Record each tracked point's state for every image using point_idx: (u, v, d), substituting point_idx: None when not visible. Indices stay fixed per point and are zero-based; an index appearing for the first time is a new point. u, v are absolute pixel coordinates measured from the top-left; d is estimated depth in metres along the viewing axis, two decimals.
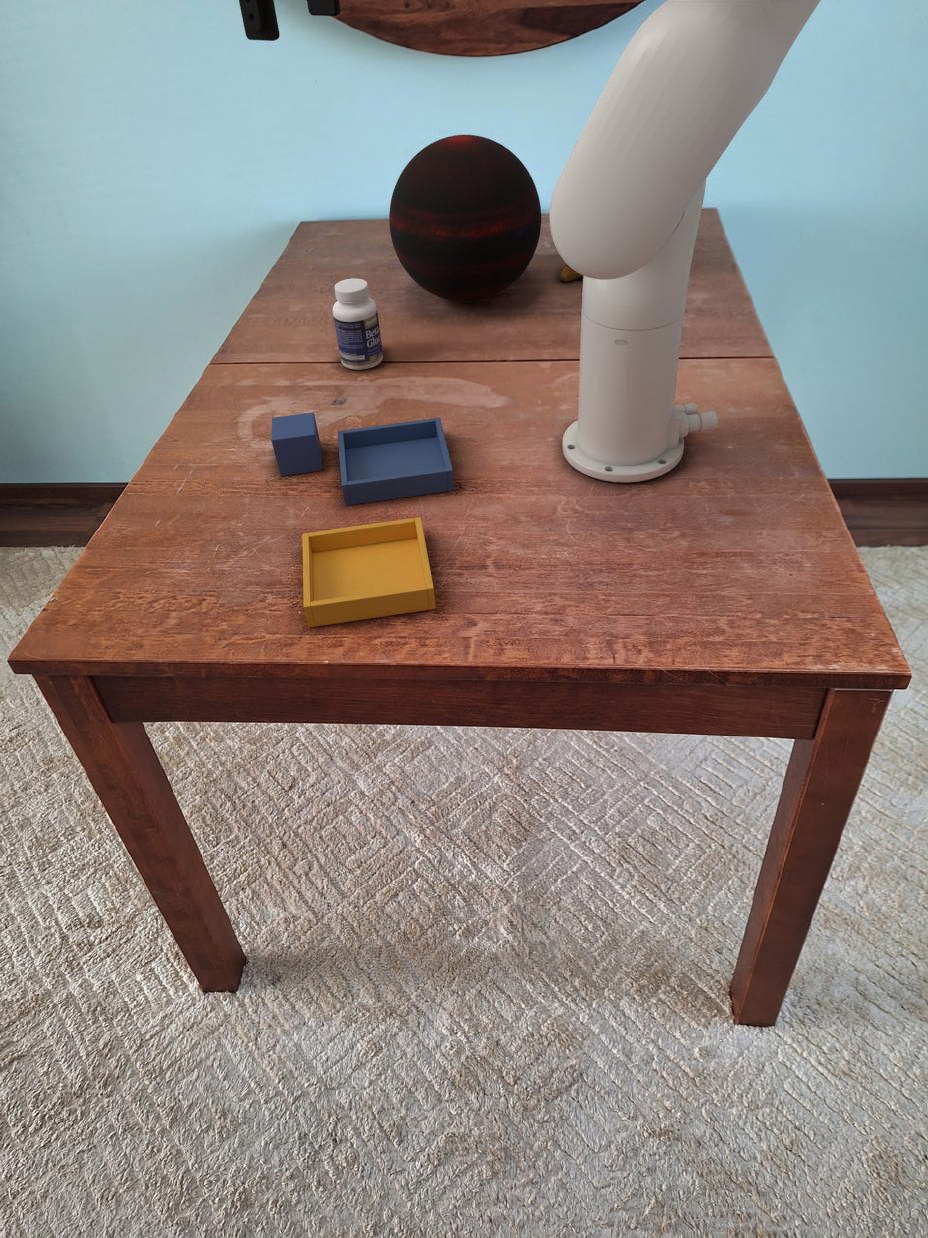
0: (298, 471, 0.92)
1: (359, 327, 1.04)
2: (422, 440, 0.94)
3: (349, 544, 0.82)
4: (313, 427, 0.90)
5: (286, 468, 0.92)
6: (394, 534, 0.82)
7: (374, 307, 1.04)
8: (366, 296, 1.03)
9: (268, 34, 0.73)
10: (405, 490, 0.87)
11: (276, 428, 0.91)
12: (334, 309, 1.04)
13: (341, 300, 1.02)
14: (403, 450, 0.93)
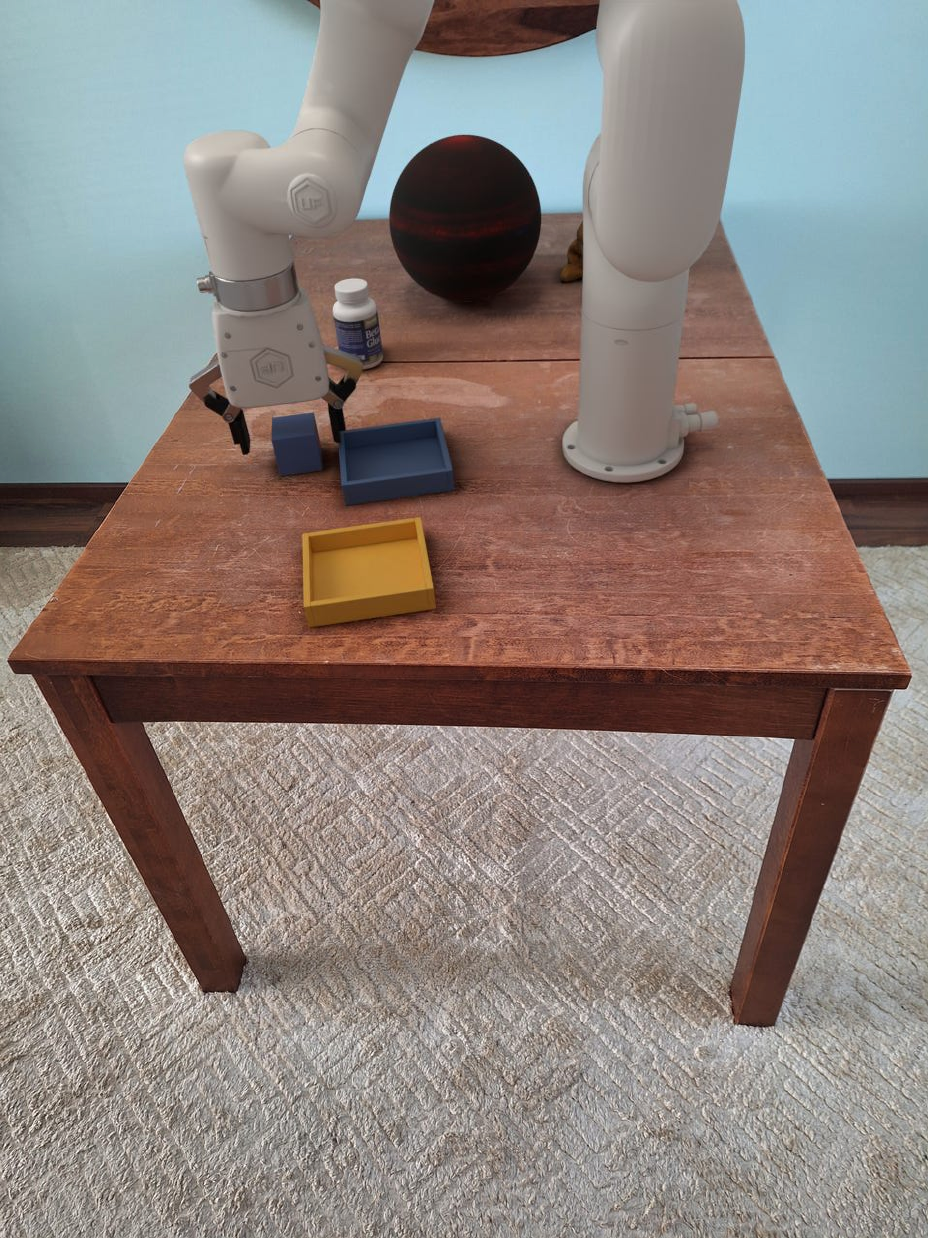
0: (298, 471, 0.92)
1: (359, 327, 1.04)
2: (422, 440, 0.94)
3: (349, 544, 0.82)
4: (313, 427, 0.90)
5: (286, 468, 0.92)
6: (394, 534, 0.82)
7: (374, 307, 1.04)
8: (366, 296, 1.03)
9: None
10: (405, 490, 0.87)
11: (276, 428, 0.91)
12: (334, 309, 1.04)
13: (341, 300, 1.02)
14: (403, 450, 0.93)
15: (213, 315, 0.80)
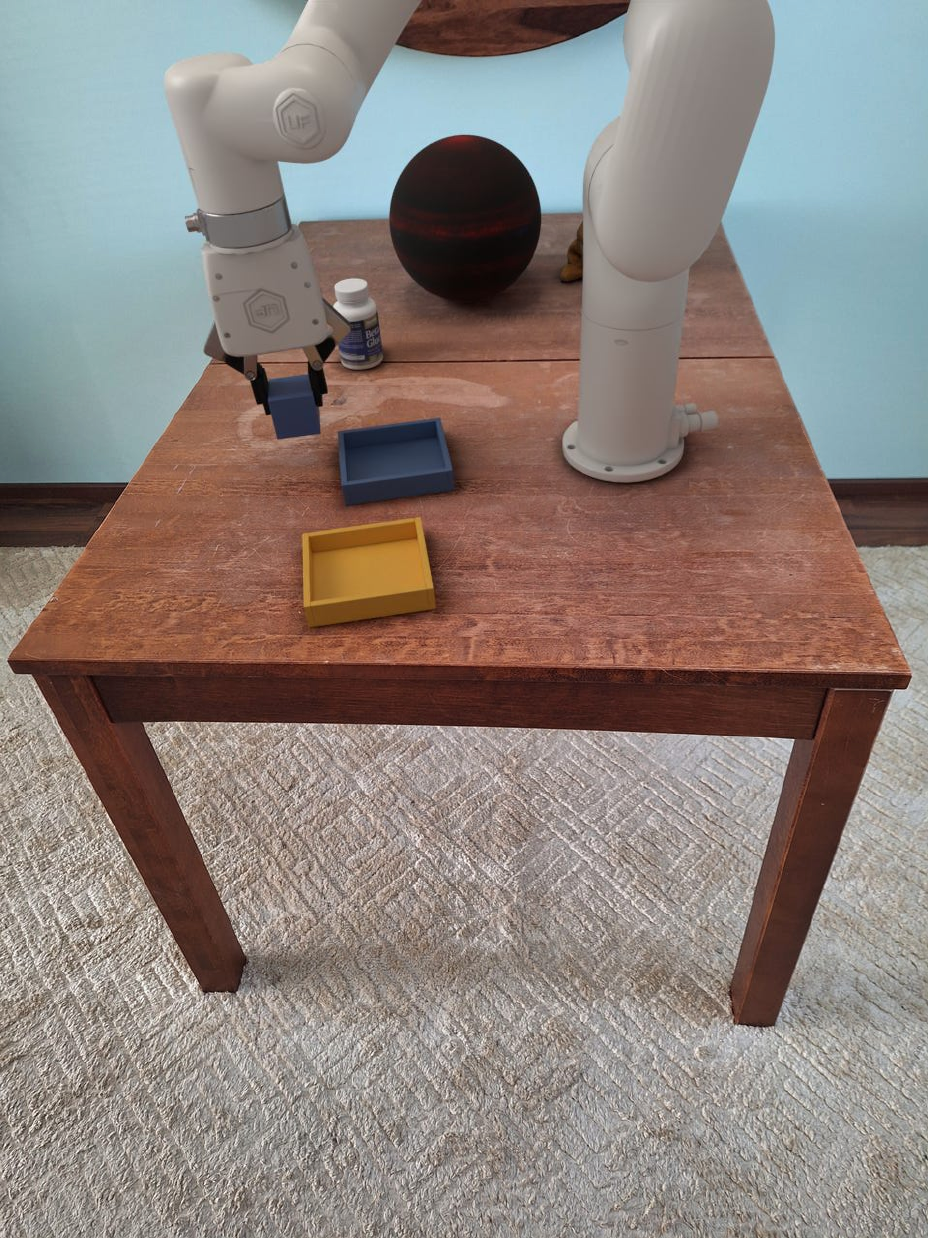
0: (295, 434, 0.89)
1: (359, 327, 1.04)
2: (422, 440, 0.94)
3: (349, 544, 0.82)
4: None
5: (283, 431, 0.88)
6: (394, 534, 0.82)
7: (374, 307, 1.04)
8: (366, 296, 1.03)
9: None
10: (405, 490, 0.87)
11: (272, 389, 0.87)
12: None
13: (341, 300, 1.02)
14: (403, 450, 0.93)
15: (203, 255, 0.76)
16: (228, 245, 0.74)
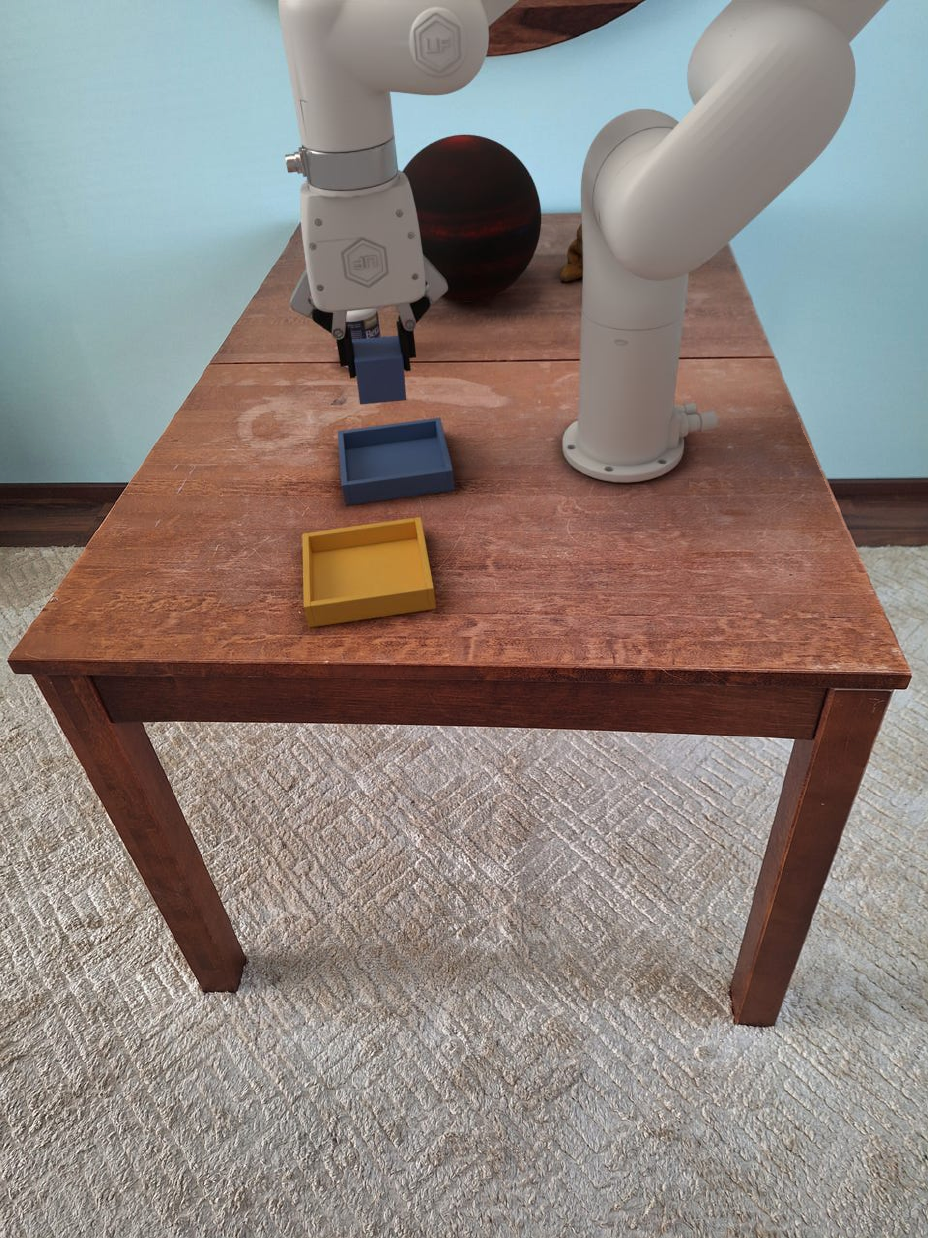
0: (380, 400, 0.83)
1: (359, 327, 1.04)
2: (422, 440, 0.94)
3: (349, 544, 0.82)
4: (400, 350, 0.81)
5: (367, 396, 0.83)
6: (394, 534, 0.82)
7: None
8: None
9: None
10: (405, 490, 0.87)
11: (358, 350, 0.82)
12: None
13: None
14: (403, 450, 0.93)
15: (302, 198, 0.70)
16: (333, 187, 0.69)
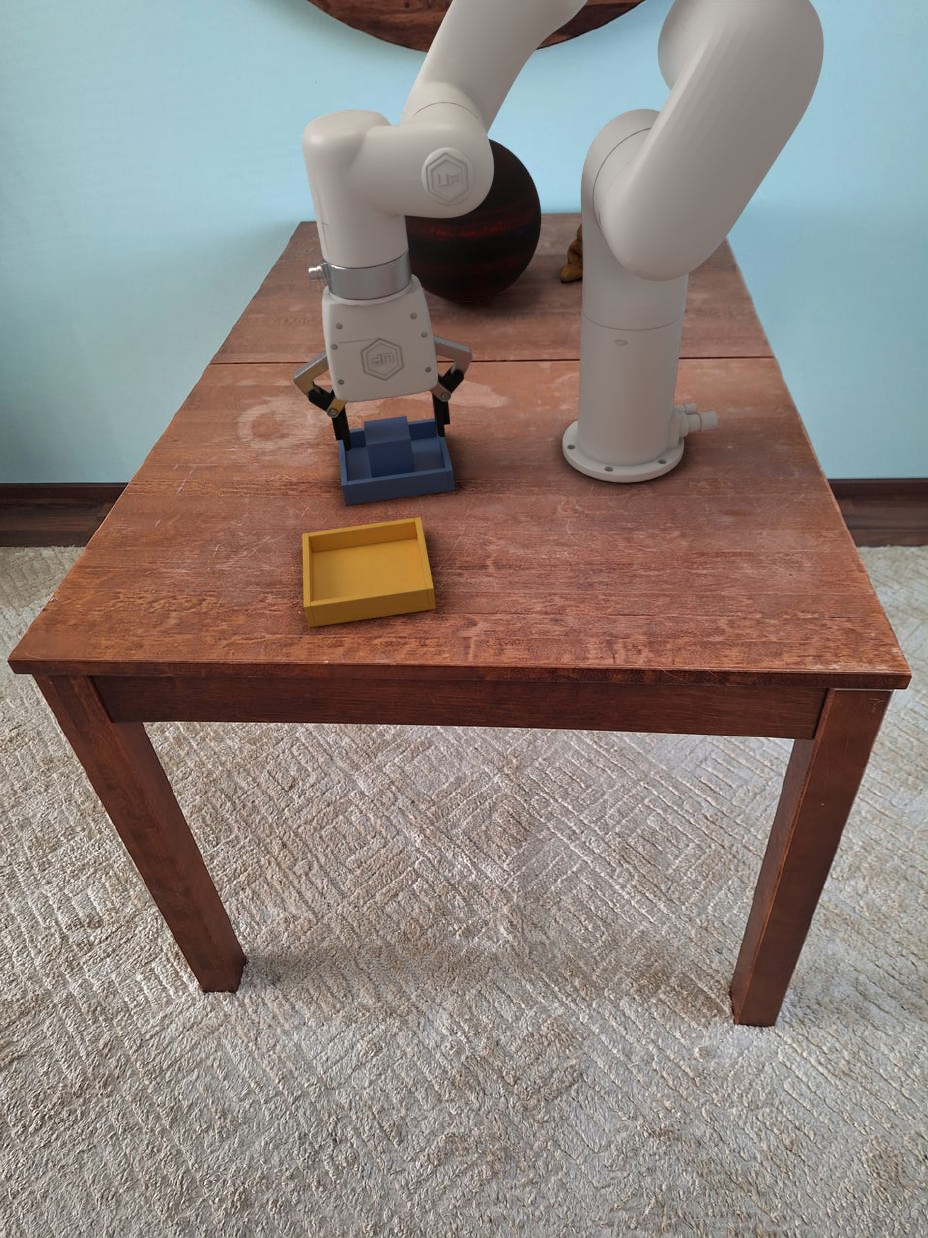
0: None
1: None
2: (422, 440, 0.94)
3: (349, 544, 0.82)
4: (408, 431, 0.88)
5: (379, 473, 0.89)
6: (394, 534, 0.82)
7: None
8: None
9: None
10: (405, 490, 0.87)
11: (369, 432, 0.88)
12: None
13: None
14: None
15: (324, 305, 0.77)
16: (353, 297, 0.75)
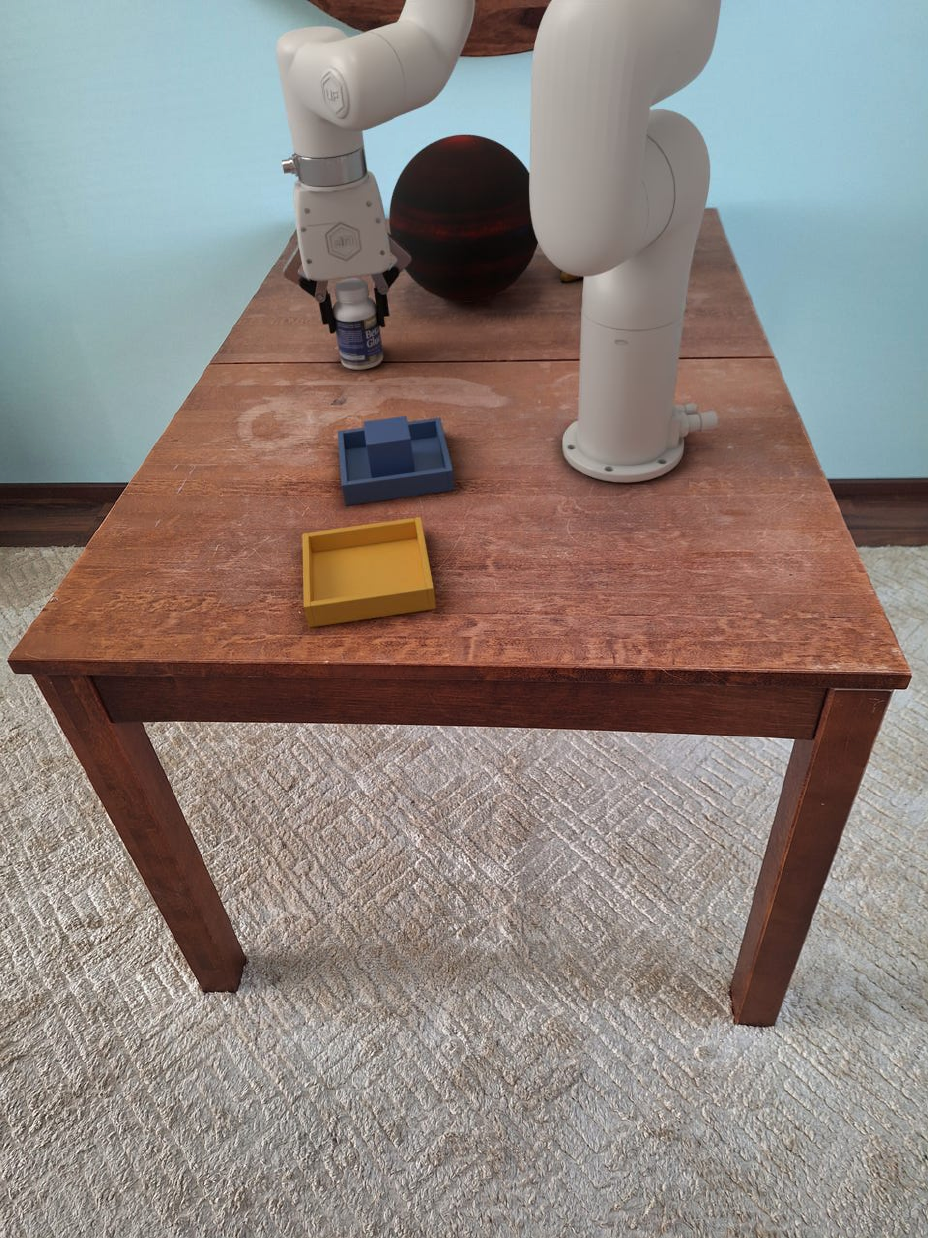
0: None
1: (359, 327, 1.04)
2: (422, 440, 0.94)
3: (349, 544, 0.82)
4: (408, 431, 0.88)
5: (379, 473, 0.89)
6: (394, 534, 0.82)
7: (374, 307, 1.04)
8: (366, 296, 1.03)
9: None
10: (405, 490, 0.87)
11: (369, 432, 0.88)
12: (334, 309, 1.04)
13: (341, 300, 1.02)
14: None
15: (295, 192, 0.93)
16: (318, 184, 0.91)
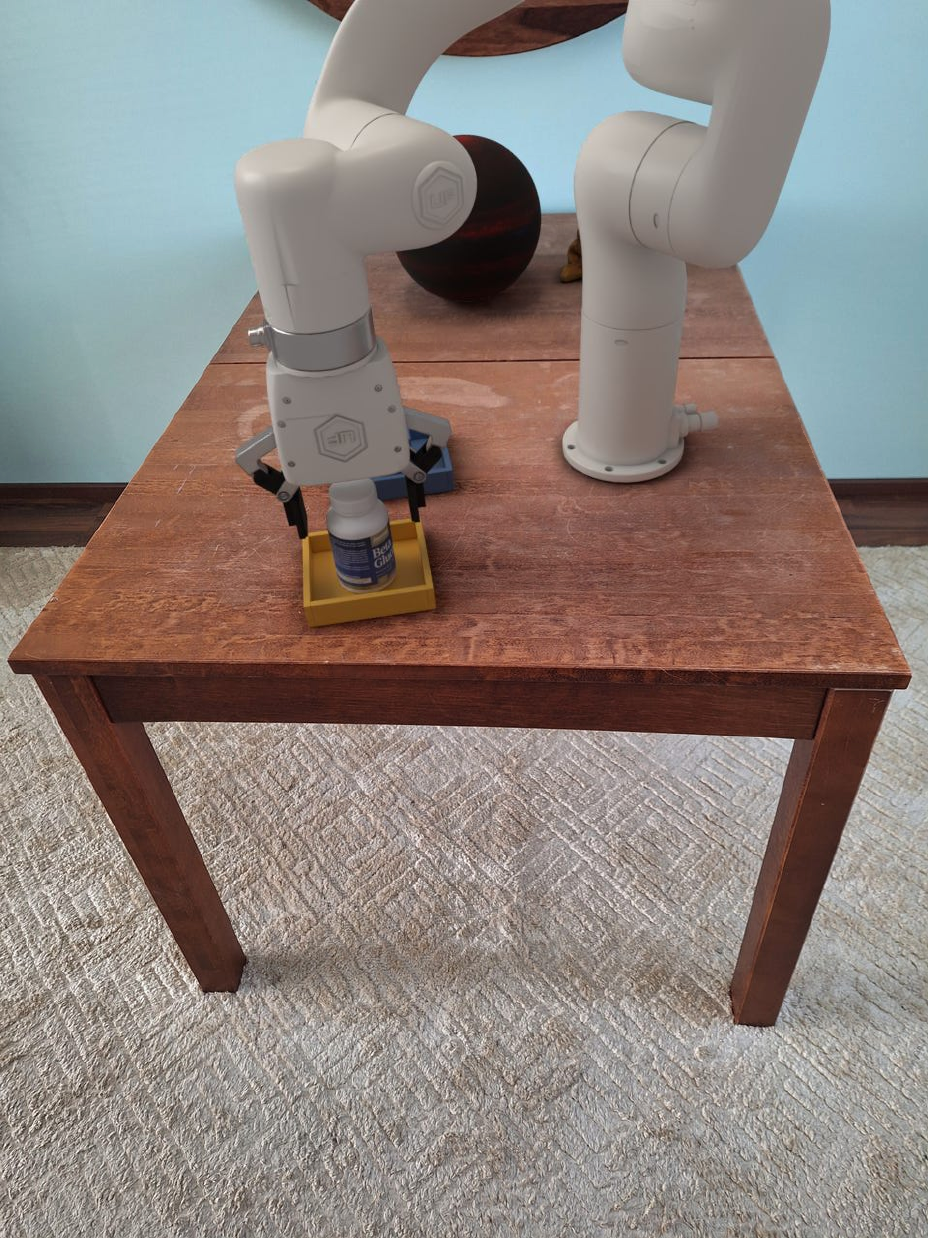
0: None
1: (363, 546, 0.73)
2: (422, 440, 0.94)
3: None
4: (408, 431, 0.88)
5: None
6: (394, 534, 0.82)
7: (385, 517, 0.73)
8: (374, 505, 0.72)
9: None
10: (405, 490, 0.87)
11: None
12: (328, 520, 0.73)
13: (338, 512, 0.72)
14: None
15: (268, 375, 0.62)
16: (302, 367, 0.61)
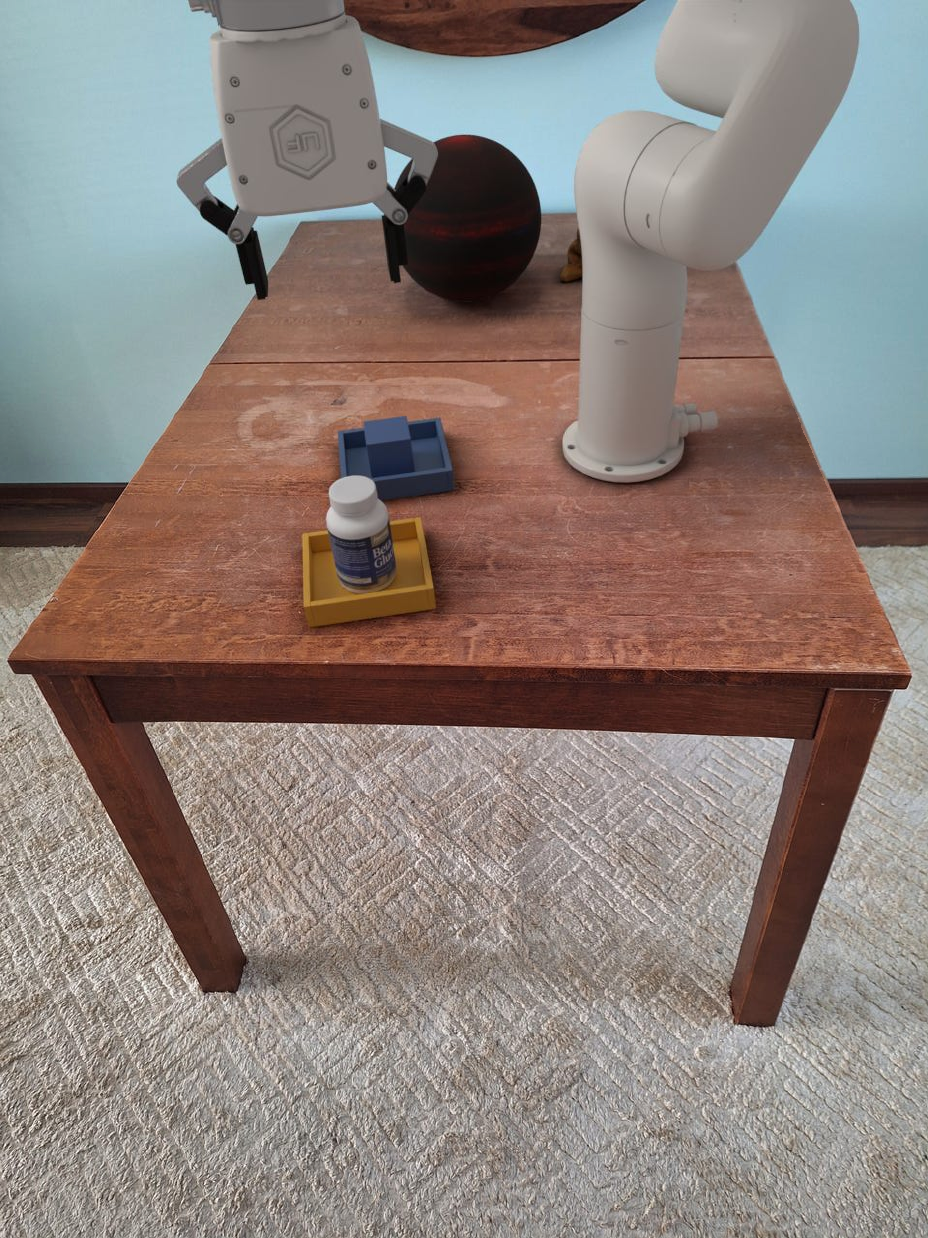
0: None
1: (363, 546, 0.73)
2: (422, 440, 0.94)
3: None
4: (408, 431, 0.88)
5: (379, 473, 0.89)
6: (394, 534, 0.82)
7: (385, 517, 0.73)
8: (374, 504, 0.72)
9: None
10: (405, 490, 0.87)
11: (369, 432, 0.88)
12: (328, 520, 0.73)
13: (339, 511, 0.72)
14: None
15: (212, 47, 0.51)
16: (251, 26, 0.49)
